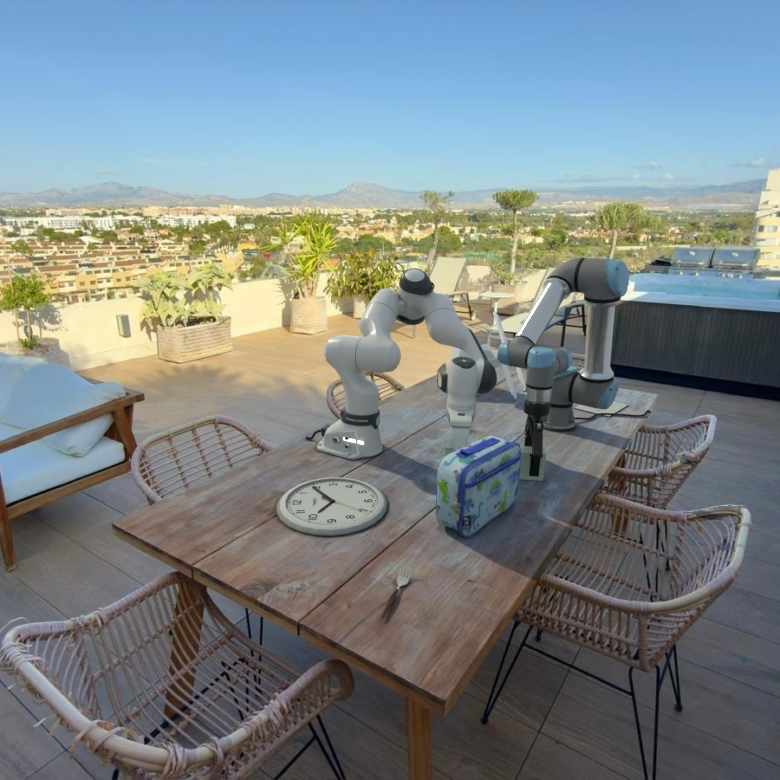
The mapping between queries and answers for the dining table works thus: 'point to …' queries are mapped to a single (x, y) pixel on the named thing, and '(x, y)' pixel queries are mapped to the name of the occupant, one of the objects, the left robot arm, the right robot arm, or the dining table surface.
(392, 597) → the fork
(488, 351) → the white plastic object
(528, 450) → the sage box
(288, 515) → the wall clock
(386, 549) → the dining table surface
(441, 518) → the lunch box
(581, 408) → the invitation card
